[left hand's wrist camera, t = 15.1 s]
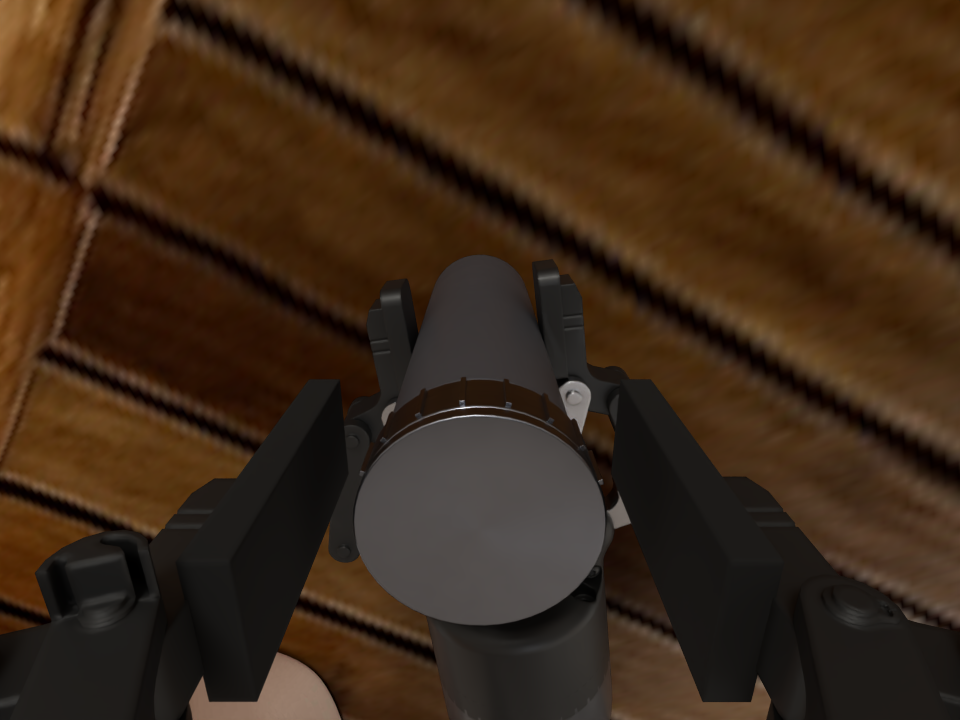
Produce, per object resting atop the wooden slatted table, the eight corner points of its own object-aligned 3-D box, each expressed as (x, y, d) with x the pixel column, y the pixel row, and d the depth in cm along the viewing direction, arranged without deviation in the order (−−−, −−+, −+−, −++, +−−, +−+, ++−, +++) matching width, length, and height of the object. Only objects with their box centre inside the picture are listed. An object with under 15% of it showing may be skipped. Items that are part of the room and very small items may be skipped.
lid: (352, 550, 13) (333, 607, 11) (385, 351, 11) (370, 385, 9) (558, 587, 13) (569, 646, 12) (622, 400, 11) (645, 440, 10)
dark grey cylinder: (417, 272, 25) (331, 448, 11) (511, 240, 25) (557, 378, 10) (450, 359, 27) (415, 619, 12) (539, 331, 26) (615, 566, 12)
